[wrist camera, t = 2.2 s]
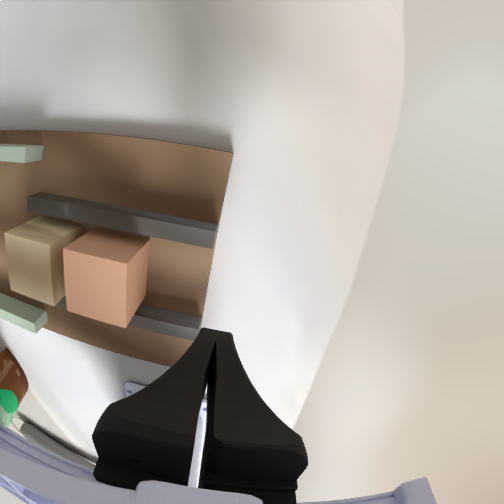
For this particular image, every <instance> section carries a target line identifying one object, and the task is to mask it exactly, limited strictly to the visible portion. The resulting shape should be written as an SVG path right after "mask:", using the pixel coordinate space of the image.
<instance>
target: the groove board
mask: <svg viewBox="0 0 504 504" xmlns="http://www.w3.org/2000/svg"><path fill="white" fill-rule="evenodd" d="M0 144H23V145H42V146H43V155H42V160H39V161H33V162H28V163H18V162H6V161H0V293H3V294H5V295H7V296H10V297H12V298H15V299H17V300H19V301H22V302H24V303H27V304H29V305H32V306H35V307H37V308H40V309H43V310H45V311H46V312H47V318H48V321H47V322H46V323H45V324H44V325H43V328H45V329H48V330H51V331H53V332H56V333H59V334H61V335H64V336H67V337H70V338H72V339H75V340H78V341H81V342H84V343H87V344H90V345H93V346H96V347H100V348H103V349H106V350H109V351H113V352H116V353H120V354H123V355H127V356H130V357H134V358H138V359H141V360H145V361H149V362H153V363H157V364H161V365H166V366H170V367H172V366H173V365H174V364H175V363H176V362H177V361H178V360H179V359H180V358H181V356H182V355H183V354H184V353H185V352H186V351H187V349H188V348H189V347H190V346H191V344H192V343H193V341H194V340H195V339H196V337H197V335H198V333H199V331H200V329H201V323H202V316H203V310H204V304H205V298H206V292H207V287H208V281H209V275H210V270H211V264H212V258H213V253H214V248H215V242H216V237H217V232H218V227H219V221H220V216H221V211H222V206H223V201H224V196H225V191H226V186H227V182H228V177H229V172H230V167H231V163H232V158H233V153H231V152H226V151H221V150H215V149H210V148H204V147H198V146H192V145H186V144H180V143H173V142H166V141H159V140H152V139H144V138H136V137H127V136H117V135H107V134H95V133H81V132H64V131H36V130H0ZM38 216H42V217H46V218H51V219H56V220H60V221H65V222H70V223H74V224H79V225H83V226H82V236H83V235H84V234H86V233H87V232H89V231H91V230H92V229H94V228H98V229H103V230H108V231H112V232H117V233H122V234H127V235H132V236H136V237H141V238H146V239H150V247H149V258H148V270H147V284H146V296H145V297H144V299H143V300H142V302H141V304H140V305H139V307H138V309H137V310H136V312H135V314H134V315H133V317H132V319H131V320H130V322H129V324H128V325H127V327H126V328H123V327H120V326H116V325H112V324H109V323H105V322H102V321H99V320H95V319H92V318H89V317H85V316H82V315H79V314H76V313H73V312H70V311H67V304H66V295H65V296H64V297H63V298H62V299H61V300H60V301H59V302H58V303H57V304H56V305H55V306H52V305H49V304H46V303H44V302H41V301H38V300H35V299H33V298H30V297H27V296H25V295H22V294H20V293H17V292H15V291H12V290H11V288H10V281H9V274H8V267H7V258H6V248H5V235H4V233H5V232H7V231H9V230H11V229H13V228H15V227H17V226H19V225H21V224H23V223H25V222H27V221H29V220H32V219H34V218H36V217H38Z"/></svg>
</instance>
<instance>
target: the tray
mask: <svg viewBox="0 0 504 504" xmlns="http://www.w3.org/2000/svg"><path fill="white" fill-rule="evenodd" d="M42 155H43V146H42V145H23V144H0V161H6V162H18V163H28V162H33V161H39V160H42ZM0 317H1V318H3V319H5V320H7V321H9V322H11V323H13V324H15V325H18V326H20V327H22V328H24V329H27V330H29V331H31V332H34V333H37V332H38V331H39V330H40V329H41V328H42V327H43V325H44V324H45V323H46V322H47V321H48V318H47V312H46V311H45V310H43V309H40V308H37V307H35V306H32V305H29V304H27V303H24V302H22V301H19V300H17V299H15V298H12V297H10V296H7V295H5V294H3V293H0Z"/></svg>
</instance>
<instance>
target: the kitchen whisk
mask: <svg viewBox="0 0 504 504" xmlns="http://www.w3.org/2000/svg"><path fill="white" fill-rule="evenodd" d="M13 418H18V417H13ZM13 418H12V419H13ZM18 419H20V418H18ZM20 420H21V419H20ZM11 421H12V420H11ZM22 421H23V420H22ZM12 423H13V422H12ZM13 425H14V424H13ZM14 426H15V425H14ZM15 427H16V426H15ZM16 429H17V428H16ZM17 430H18V429H17ZM18 431H19V430H18ZM19 432H20V433H22V434H23V435H24V437H25V438H27V439H28V440H30V441H31V442H33V443H35V444H37V445H39V446H41V447H43V448H45V449H47V450H49V451H51V452H53V453H55V454H58V455H60V456H62V457H64V458H67V459H69V460H71V461H74V462H76V463H78V464H81V465H83V466H86V467H88V468H91V469H95V466H96V465H94V464H92V463H90V462H89V461H87V460H85V459H83V458H82V457H80V456H78V455H77V454H75V453H73V452H72V451H70V450H68V449H67V448H65V447H64V446H62V445H61V444H59V443H58V442H56V441H55V440H53V439H52V438H50V437H49V436H47V435H46V434H45V433H43V432H42V431H40V430H39V429H38V428H36V427H35V426H34V425H32V424H29V423H28V422H27V421H25V422H24V423H23V424H22V426H21V428H20V431H19Z"/></svg>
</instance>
